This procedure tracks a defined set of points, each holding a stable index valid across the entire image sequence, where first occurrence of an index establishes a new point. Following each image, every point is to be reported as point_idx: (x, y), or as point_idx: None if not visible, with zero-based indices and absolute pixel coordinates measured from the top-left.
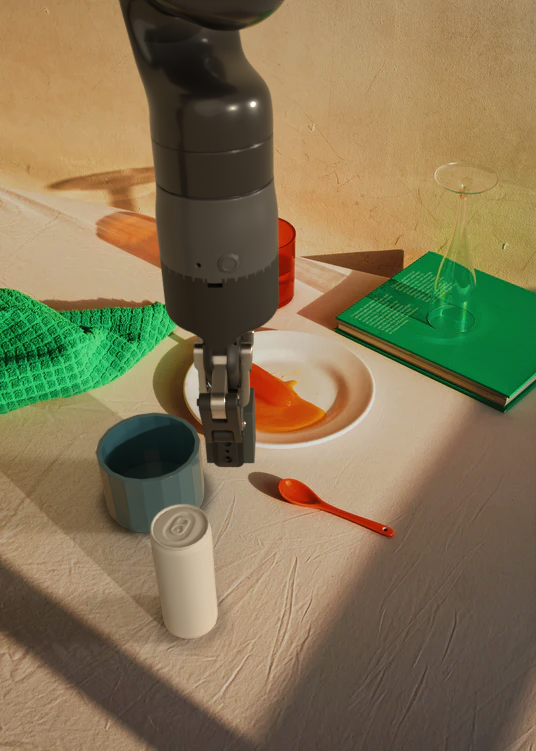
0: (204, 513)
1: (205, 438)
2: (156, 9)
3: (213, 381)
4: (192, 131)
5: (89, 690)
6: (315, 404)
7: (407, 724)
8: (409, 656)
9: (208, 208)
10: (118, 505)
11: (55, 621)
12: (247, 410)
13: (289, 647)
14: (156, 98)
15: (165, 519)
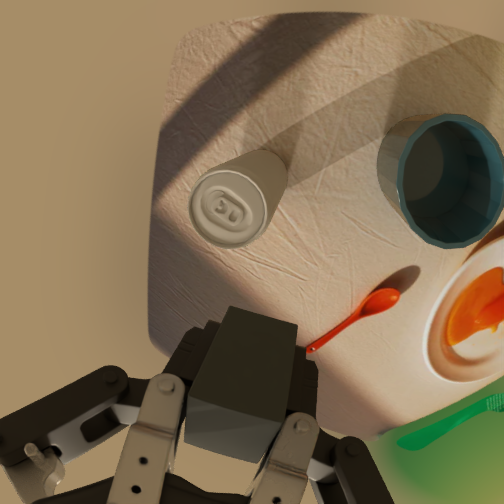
0: (240, 247)
1: (88, 374)
2: None
3: (16, 488)
4: None
5: (208, 83)
6: (463, 341)
7: (158, 300)
8: (200, 320)
9: None
10: (403, 125)
11: (286, 51)
12: (189, 441)
13: (218, 249)
14: None
15: (242, 192)
